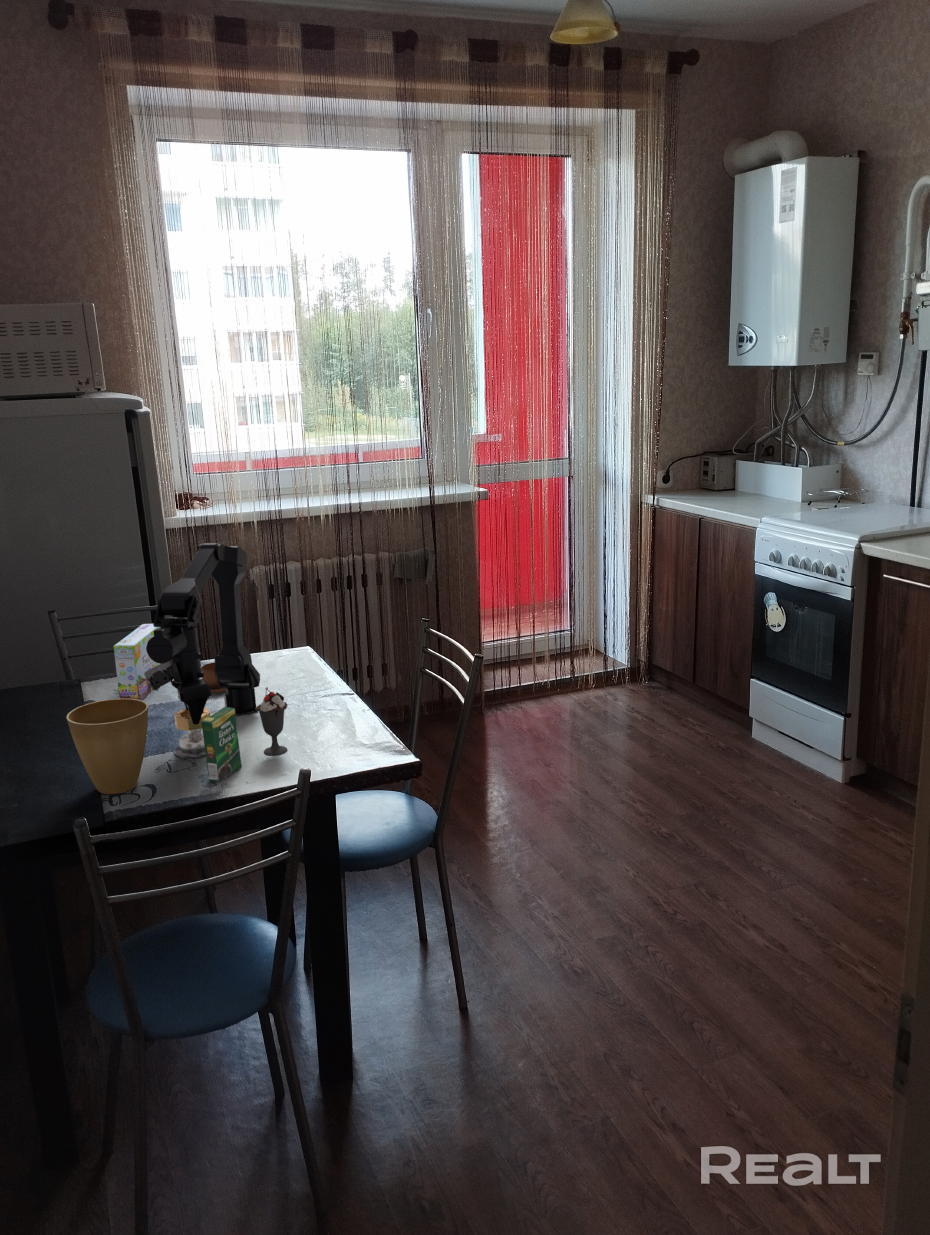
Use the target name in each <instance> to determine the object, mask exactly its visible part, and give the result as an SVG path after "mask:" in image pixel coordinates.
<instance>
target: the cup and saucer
mask: <svg viewBox="0 0 930 1235" xmlns="http://www.w3.org/2000/svg"><path fill="white" fill-rule="evenodd" d="M201 670H202V672H203V674H204V677H203V678H199V679H200V680H202V679H203V680H204V681H206V682H207V683H208V684H209V686H210V687H211V694H216V693H218V694H221V693H224V692H226V688H219V686H218V683H217V679H216V676H215V661H214V662H213V661H212V662H209V663H206V664H204V665H201Z"/></svg>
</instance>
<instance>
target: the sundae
mask: <svg viewBox="0 0 930 1235" xmlns="http://www.w3.org/2000/svg"><path fill="white" fill-rule="evenodd" d="M267 691H268V692H267ZM287 708H288V703H287V702H286V701H285V697H284V696H283V694H281V693H279V692H278V691H277V692H274V691H270V690H269V687H265V696H264V697H263V700H262V701H261V703H260V704H258V705H256V708H255V709H256V710H257V712H259V717H260V722H261V725H262V728H263V731H264V732H265V734H266V735H267V736H270V737H271V745H270V746H268V747H266V748H265V749H264V750H263V753H264V754H265V755H267V756H279V755H282V754H283V755H284V754H285V753H286V752H287V751H288V748H287V747H286V746H284V745H279V742H278V736H279V735H280V734H281V733H282V732H283V730H284V721H285V710H287Z"/></svg>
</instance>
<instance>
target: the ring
mask: <svg viewBox="0 0 930 1235" xmlns="http://www.w3.org/2000/svg"><path fill="white" fill-rule="evenodd" d="M209 716H211V712H210V710H209V708H208V707H204V710H203V713H202V716H201V719H200V722H199V724H197V725H194V724H193V722H192V719H191V716H190V713H189V710H188V709H186V708H182V709H180V710H178V711H177V712H174V716H173V717H174V722H175V727H176V729H177V730H179V731H187V732H188V731H191V730H196V729H201V730H202V723H201V722H202V721H203V720H204V719H206V718H208V717H209Z"/></svg>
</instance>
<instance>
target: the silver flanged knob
mask: <svg viewBox="0 0 930 1235" xmlns="http://www.w3.org/2000/svg"><path fill="white" fill-rule="evenodd" d="M178 740H179V745H178V746H177V747H175V749H174V755H175V756H176V757H177V758H180V759H187V760H191V759H200V758H206V754H205V746H204V738H203V731H202V729H196V730H191V731H187V733H185V734H183V735H182V736H180V737H179V739H178Z"/></svg>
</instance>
